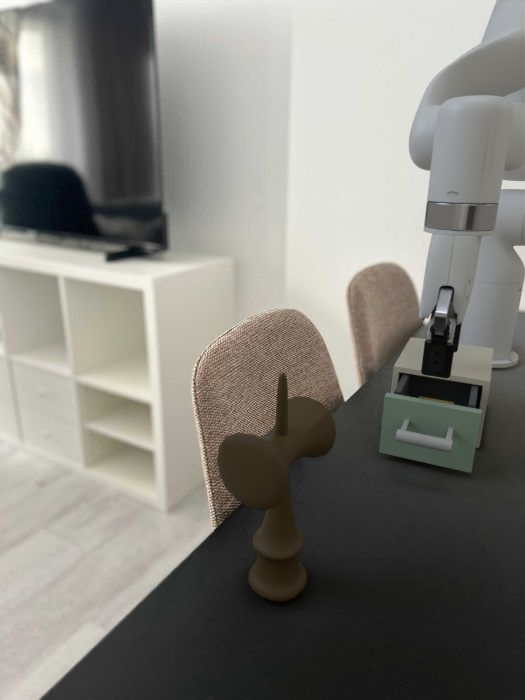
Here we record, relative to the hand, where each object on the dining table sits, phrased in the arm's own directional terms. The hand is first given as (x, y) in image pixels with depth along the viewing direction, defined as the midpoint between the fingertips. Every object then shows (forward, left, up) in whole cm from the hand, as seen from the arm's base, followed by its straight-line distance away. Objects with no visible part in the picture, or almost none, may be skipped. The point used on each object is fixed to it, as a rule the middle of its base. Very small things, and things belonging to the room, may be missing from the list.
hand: (440, 362), depth 63 cm
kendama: (+30, -9, -12) cm, 33 cm away
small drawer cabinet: (-10, 0, -12) cm, 16 cm away
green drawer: (+1, 0, -11) cm, 11 cm away
